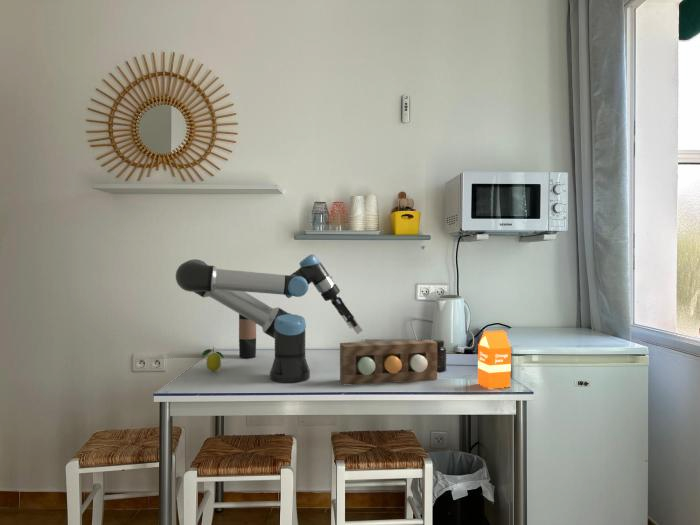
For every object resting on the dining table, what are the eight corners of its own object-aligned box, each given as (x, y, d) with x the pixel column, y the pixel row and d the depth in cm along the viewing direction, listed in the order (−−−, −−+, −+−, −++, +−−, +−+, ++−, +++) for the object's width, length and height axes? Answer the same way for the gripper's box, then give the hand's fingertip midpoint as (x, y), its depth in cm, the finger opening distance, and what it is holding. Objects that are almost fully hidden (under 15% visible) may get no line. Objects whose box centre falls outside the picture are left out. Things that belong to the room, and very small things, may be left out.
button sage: (359, 375, 184) (359, 358, 184) (357, 373, 187) (357, 357, 187) (375, 374, 186) (375, 358, 185) (373, 372, 188) (373, 356, 188)
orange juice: (510, 387, 184) (511, 332, 183) (488, 389, 181) (489, 333, 180) (498, 382, 191) (499, 328, 190) (477, 383, 188) (478, 329, 188)
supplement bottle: (428, 367, 213) (428, 339, 212) (444, 368, 212) (445, 339, 212) (430, 372, 206) (430, 342, 205) (447, 372, 205) (447, 342, 205)
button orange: (385, 373, 186) (386, 357, 186) (383, 371, 189) (383, 355, 189) (401, 373, 188) (401, 356, 187) (399, 371, 191) (399, 355, 190)
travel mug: (258, 355, 235) (258, 311, 234) (253, 359, 228) (253, 314, 227) (241, 354, 236) (241, 311, 235) (236, 358, 228) (236, 313, 228)
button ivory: (412, 372, 189) (412, 356, 188) (409, 370, 191) (409, 354, 191) (427, 371, 190) (427, 355, 190) (424, 369, 193) (424, 353, 193)
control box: (343, 384, 186) (343, 346, 186) (339, 379, 193) (340, 342, 193) (437, 379, 194) (437, 342, 194) (430, 375, 201) (430, 339, 200)
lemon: (201, 372, 203) (201, 347, 203) (212, 369, 208) (211, 344, 208) (214, 374, 200) (214, 349, 200) (224, 371, 205) (224, 346, 205)
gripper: (340, 285, 200) (370, 329, 203) (329, 280, 224) (356, 319, 227) (324, 297, 199) (355, 340, 202) (315, 290, 223) (343, 329, 226)
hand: (356, 329), depth 215 cm, fingers open, 13 cm apart
